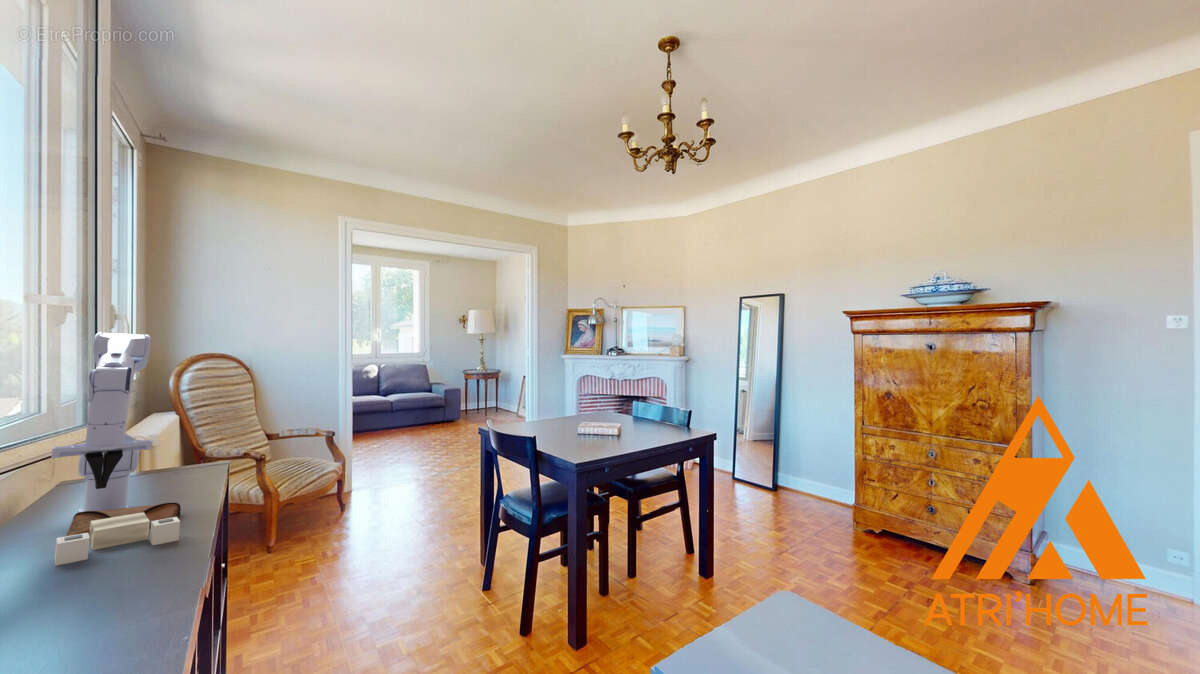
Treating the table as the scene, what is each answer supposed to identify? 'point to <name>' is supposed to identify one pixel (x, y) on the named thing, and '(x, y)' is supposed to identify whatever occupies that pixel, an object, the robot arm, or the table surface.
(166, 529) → the cream block marked 2
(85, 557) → the cream block marked 1
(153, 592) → the table surface
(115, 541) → the plain birch block
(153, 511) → the sunglasses case
